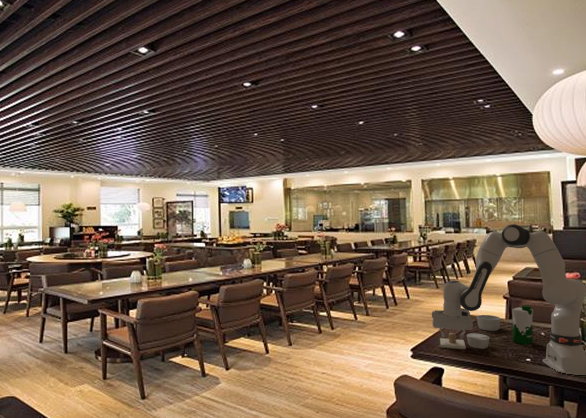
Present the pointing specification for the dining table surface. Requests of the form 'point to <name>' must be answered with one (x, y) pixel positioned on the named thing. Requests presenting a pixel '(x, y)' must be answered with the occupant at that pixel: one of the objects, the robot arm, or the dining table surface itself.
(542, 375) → the dining table surface
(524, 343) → the milk carton
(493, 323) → the ramekin
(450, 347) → the mat
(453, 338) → the cover
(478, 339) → the ramekin
